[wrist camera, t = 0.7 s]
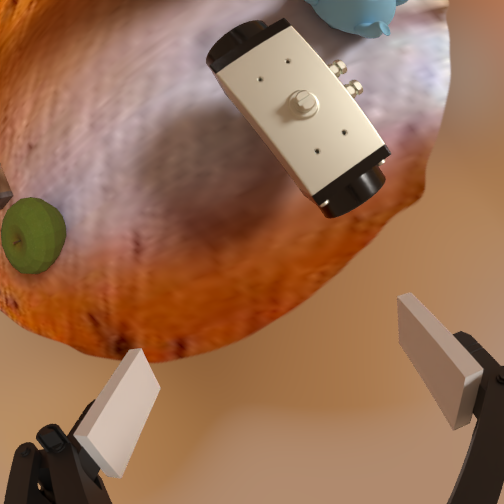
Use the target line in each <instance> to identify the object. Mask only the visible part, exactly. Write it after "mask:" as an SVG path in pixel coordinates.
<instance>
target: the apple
mask: <svg viewBox="0 0 504 504" xmlns="http://www.w3.org/2000/svg"><path fill="white" fill-rule="evenodd" d="M65 238H66V226H65V222H64V219H63V216H62V215H61V213H60V212H59V211H58V210H57V208H55V207H53V206H52V205H50V204H48V203H47V202H45V201H44V200H42V199H39V198H32V197H30V198H24V199H20V200H19V201H17V202H16V203H15V204H13V205H12V206H11V207H10V208H9V209H8V210H7V212H6V214H5V217H4V219H3V223H2V228H1V240H2V246H3V249H4V252H5V254H6V257H7V258H8V260H9V262H10V263H11V265H12V266H13V267H14V268H15V269H16V270H18V271H19V272H20V273H26V274H39V273H41V272H43V271H46V270H47V269H48V268H49V267H50V266H51V265H52V264H53V263H54V262H55V260H56V259H57V258H58V256H59V255H60V252H61V250H62V247H63V245H64V242H65Z"/></svg>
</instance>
